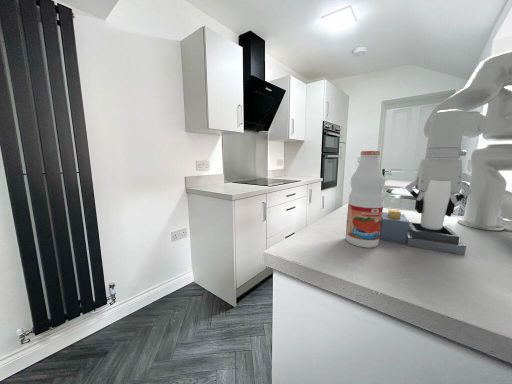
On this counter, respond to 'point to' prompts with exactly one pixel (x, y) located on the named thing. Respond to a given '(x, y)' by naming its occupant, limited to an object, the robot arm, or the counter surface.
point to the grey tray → (418, 234)
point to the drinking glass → (435, 204)
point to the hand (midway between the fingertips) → (432, 213)
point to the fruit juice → (365, 202)
